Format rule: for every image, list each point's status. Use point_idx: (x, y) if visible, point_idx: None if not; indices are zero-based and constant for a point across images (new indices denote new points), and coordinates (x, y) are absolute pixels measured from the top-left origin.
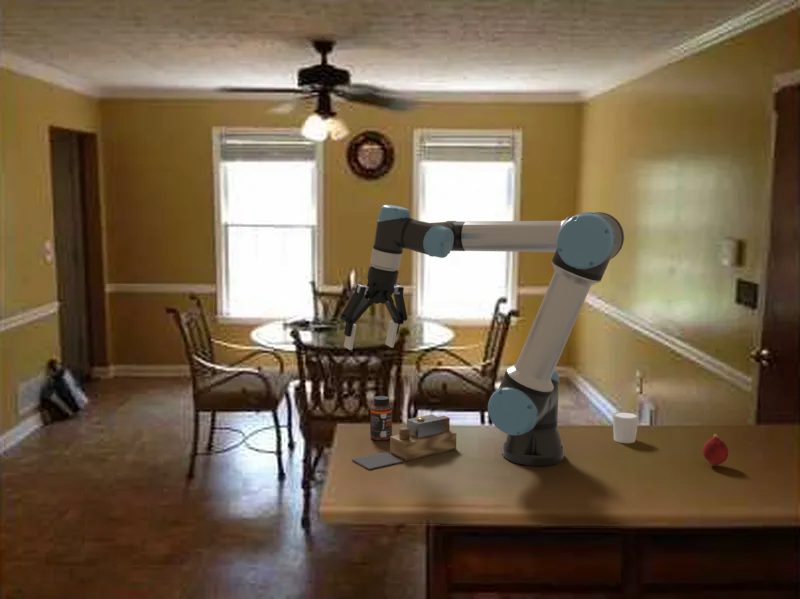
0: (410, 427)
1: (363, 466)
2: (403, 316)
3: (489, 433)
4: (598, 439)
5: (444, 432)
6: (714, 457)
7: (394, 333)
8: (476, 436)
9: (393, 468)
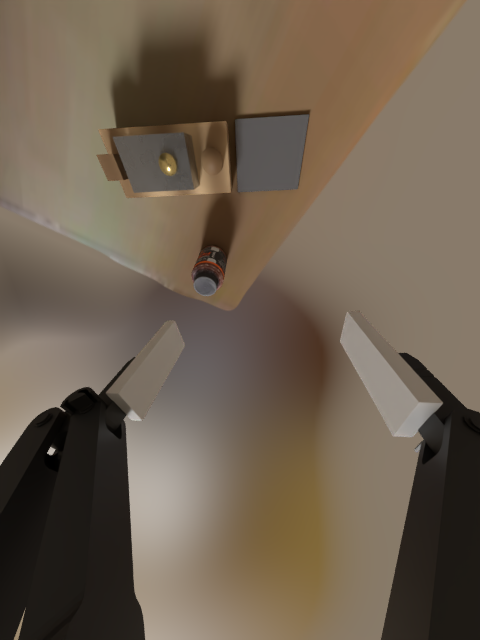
0: (194, 172)
1: (304, 142)
2: (44, 435)
3: (43, 189)
4: None
5: None
6: None
7: (146, 355)
8: (69, 186)
9: (267, 92)
